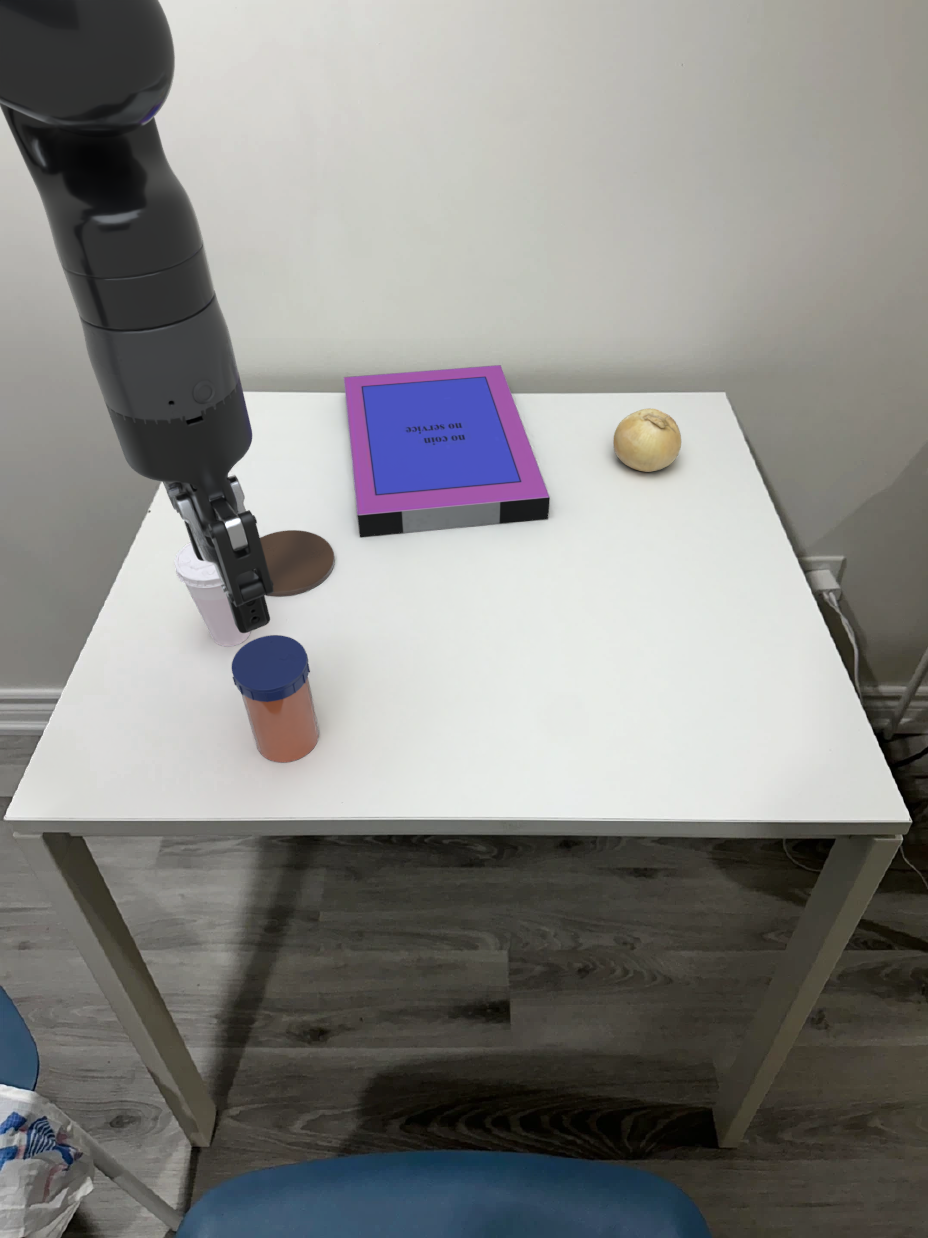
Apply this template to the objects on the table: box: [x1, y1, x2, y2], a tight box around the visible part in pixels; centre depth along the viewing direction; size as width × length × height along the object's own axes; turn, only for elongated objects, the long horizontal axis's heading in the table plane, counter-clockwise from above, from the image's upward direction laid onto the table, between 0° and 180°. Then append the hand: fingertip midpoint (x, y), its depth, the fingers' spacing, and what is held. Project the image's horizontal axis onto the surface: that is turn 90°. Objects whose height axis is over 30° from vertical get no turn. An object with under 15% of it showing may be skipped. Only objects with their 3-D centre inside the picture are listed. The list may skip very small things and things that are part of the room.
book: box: [343, 364, 551, 538], centre depth 103 cm, size 21×3×30 cm
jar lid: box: [231, 634, 311, 702], centre depth 67 cm, size 6×6×1 cm
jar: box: [241, 677, 320, 763], centre depth 70 cm, size 5×5×9 cm
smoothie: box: [173, 541, 252, 647], centre depth 78 cm, size 6×6×14 cm
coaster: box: [260, 529, 335, 597], centre depth 89 cm, size 10×10×1 cm
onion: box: [612, 407, 682, 473], centre depth 100 cm, size 8×8×7 cm
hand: (232, 589), depth 59 cm, fingers open, 8 cm apart
